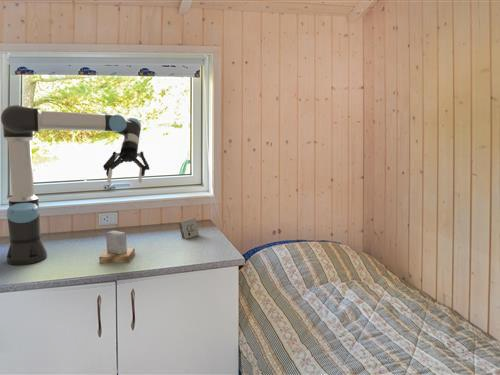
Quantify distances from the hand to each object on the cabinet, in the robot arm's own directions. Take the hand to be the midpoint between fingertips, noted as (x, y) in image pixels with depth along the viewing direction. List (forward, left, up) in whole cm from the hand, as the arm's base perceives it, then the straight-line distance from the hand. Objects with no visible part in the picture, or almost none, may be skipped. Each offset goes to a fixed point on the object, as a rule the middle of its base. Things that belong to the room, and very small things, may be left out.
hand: (124, 181), depth 184 cm
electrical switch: (+26, +20, -32) cm, 46 cm away
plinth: (-2, -11, -32) cm, 33 cm away
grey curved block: (-2, -11, -29) cm, 31 cm away
